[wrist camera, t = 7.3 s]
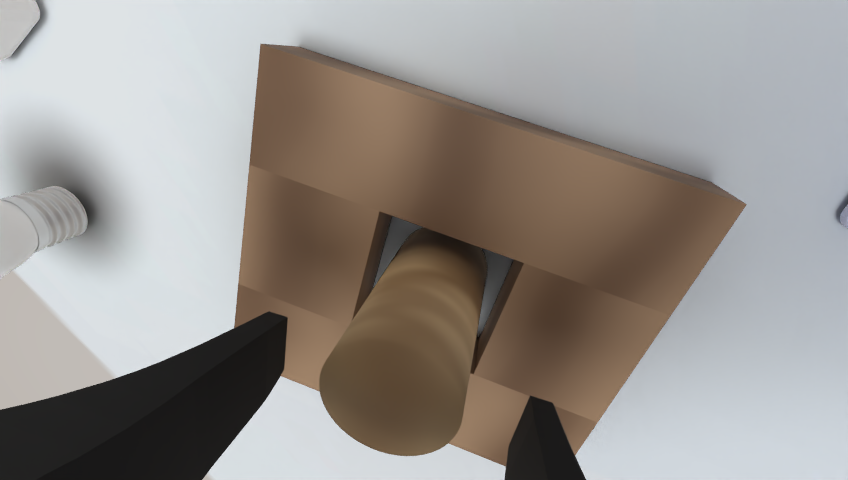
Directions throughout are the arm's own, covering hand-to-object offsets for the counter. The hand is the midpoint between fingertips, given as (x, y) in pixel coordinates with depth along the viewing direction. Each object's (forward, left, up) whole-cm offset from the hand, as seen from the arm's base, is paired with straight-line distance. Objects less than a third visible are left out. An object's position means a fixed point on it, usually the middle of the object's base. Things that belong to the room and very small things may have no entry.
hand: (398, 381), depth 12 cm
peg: (0, 0, -7) cm, 7 cm away
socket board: (0, 0, -7) cm, 7 cm away
